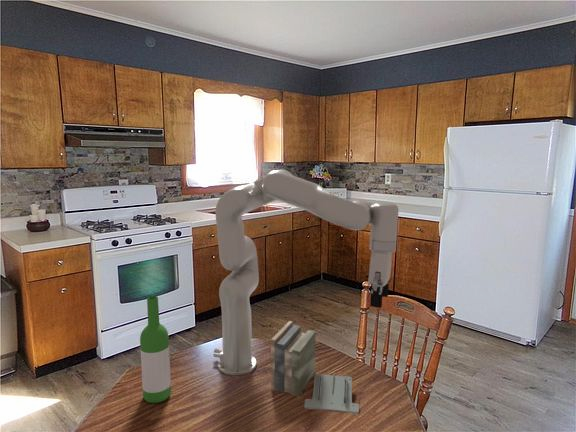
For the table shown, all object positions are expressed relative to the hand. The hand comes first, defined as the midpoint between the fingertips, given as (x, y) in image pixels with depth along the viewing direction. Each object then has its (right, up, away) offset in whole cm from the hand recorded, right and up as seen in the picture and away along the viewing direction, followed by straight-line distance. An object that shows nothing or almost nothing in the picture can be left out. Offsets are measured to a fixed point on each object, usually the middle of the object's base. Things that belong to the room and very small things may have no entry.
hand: (379, 301), depth 120 cm
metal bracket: (-14, -28, -3) cm, 32 cm away
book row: (-25, -26, +5) cm, 36 cm away
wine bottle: (-65, -27, -3) cm, 71 cm away
